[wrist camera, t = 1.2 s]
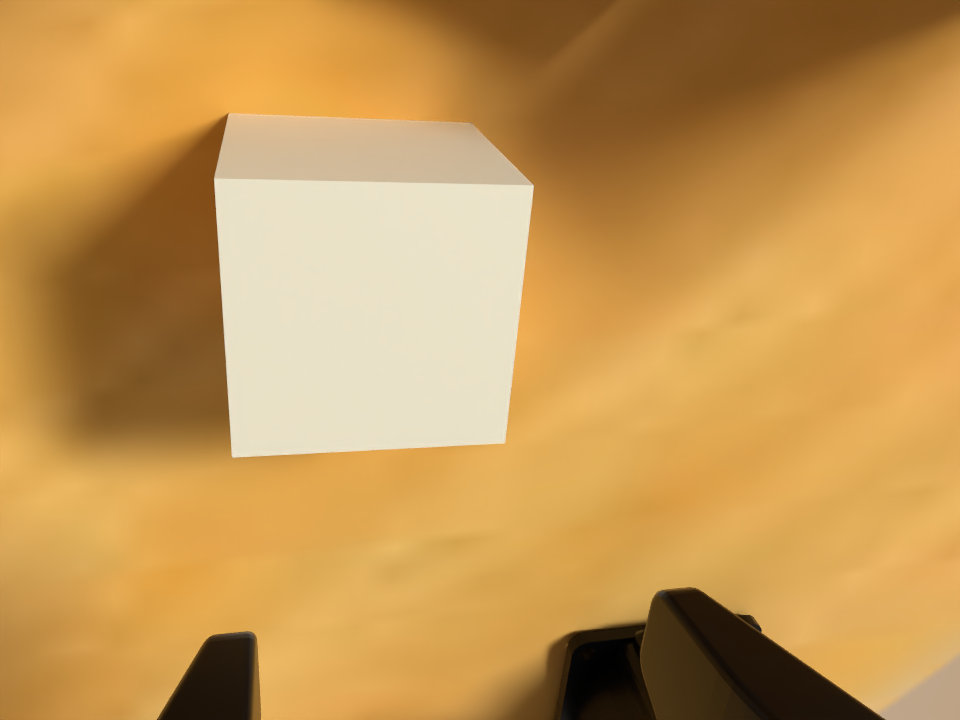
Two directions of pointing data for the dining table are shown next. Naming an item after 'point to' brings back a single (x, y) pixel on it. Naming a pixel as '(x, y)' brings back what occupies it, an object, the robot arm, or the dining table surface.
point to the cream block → (367, 283)
